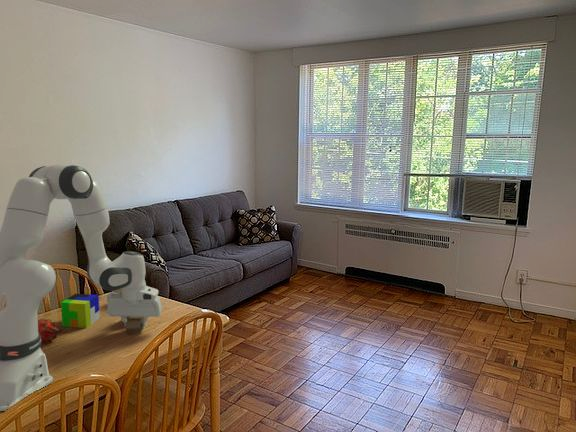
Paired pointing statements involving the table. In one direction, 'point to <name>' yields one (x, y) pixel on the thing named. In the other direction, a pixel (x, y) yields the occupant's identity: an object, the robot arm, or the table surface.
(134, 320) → the walnut cube
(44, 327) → the dragon fruit
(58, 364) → the table surface
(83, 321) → the puzzle toy
